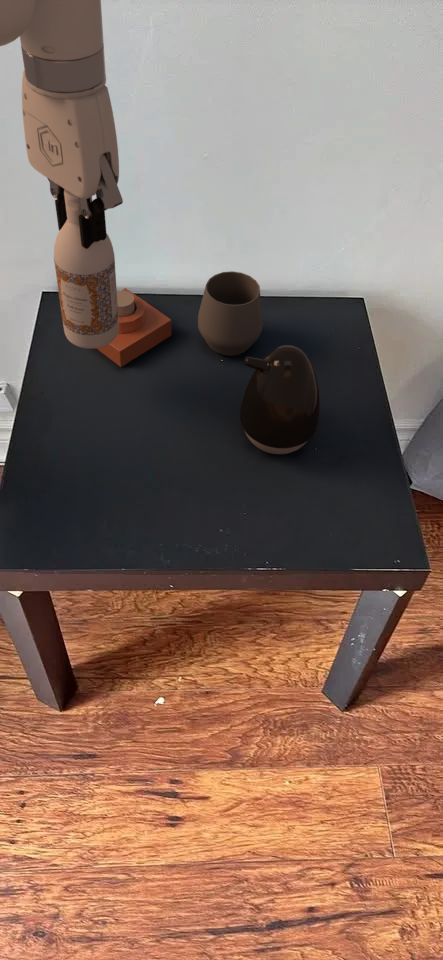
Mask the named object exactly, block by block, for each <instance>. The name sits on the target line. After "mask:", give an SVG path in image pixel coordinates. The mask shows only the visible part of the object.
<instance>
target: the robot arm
mask: <svg viewBox="0 0 443 960" xmlns="http://www.w3.org/2000/svg"><path fill="white" fill-rule="evenodd" d="M103 31H104V29H103V14H102V0H0V47H3V46H7V45H9V44H11V43H13V42H15V41H16V40H17V39H19V40H20V48H21V55H22V62H23V69H24V70H23V72H22V79H21V108H22V121H23V131H24V141H25V149H26V154H27V159H28V162H29V164H30V166H31V167H32V168H33V169H34V170H35V171H36V172H38V173H39V174H41V175H42V176H43V177H45V178H46V179H47V181H48V182H49V192H50V194H51V197H53V198H54V205H55V212H56V213H55V214H56V219H57V220H56V222H57V227H58V232H59V231H60V230H61V228H62V227H63V225H64V223H65V221H66V220H67V213H66V205H65V196H64V189H65V190H67V191H69V192H70V193H72V194H74V195H75V196H77V197H79V200H80V206H81V211H82V214H81V215H79V216H78V217H79V227H80V236H81V244H82V246H83V247H84V248H85V249H88V248H89V247H90V246H91V245H92V244H93V243H94V242H98V241H100V240H105V239H106V237H107V234H108V233H107V225H106V224H107V222H106V211H107V210H109V209H114V208H116V207H118V206H120V205H122V204H123V203H124V200H123V197H122V194H121V191H120V189H119V186H118V184H119V180H120V158H119V146H118V137H117V131H116V123H115V117H114V111H113V107H112V101H111V95H110V93H109V88H108V86H107V85H106V83H107V74H106V72H107V71H106V59H105V58H106V57H105V56H106V55H105V43H104V32H103ZM91 196H92V197H93V196H95V198H94V199H92V202H90V197H91ZM106 233H107V234H106Z"/></svg>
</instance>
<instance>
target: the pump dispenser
mask: <svg viewBox="0 0 443 960" xmlns="http://www.w3.org/2000/svg"><path fill="white" fill-rule="evenodd" d="M243 364H244V365H245V366H246V367H249V368H251V369H254V371H253V374H252V375H251V377H250V379H249V381H248V383H247V385H246V388H245V391H244V393H243V397H242V400H241V404H240V410H239V421H240V425H241V426H242V429H243V430H244V433H245V436H246V437H247V439H248V440H249V441H250V442H251V444H252V445H254V446H255V447H256V448H258V450H261V451H263V452H265V453H268V454H272V455H286V454H291V453H293V452H295V451H298V450H300V449H301V448H302V447H304V445H305V444H307V442H308V441H309V440H310V439H312V437H313V436H314V435H315V434H316V432H317V430H318V426H319V421H320V409H321V398H320V389H319V383H318V379H317V378H318V377H317V375H316V372H315V369H314V366H313V364H312V361H311V360H310V358H309V357H308V356H307V354H306V352H305V351H304V350H303V349H300V348H299V347H298V346H295V345H289V344H288V345H287V344H286V345H280V346H276V348H274V349H272V350H271V351H270V352H269V353H267V355H265V356H264V358H263V359H262V358H258V357H253V356H246V357H245V358H244V361H243Z"/></svg>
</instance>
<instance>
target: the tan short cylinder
mask: <svg viewBox="0 0 443 960" xmlns="http://www.w3.org/2000/svg"><path fill="white" fill-rule="evenodd" d="M130 292H131V291H130ZM130 292H128V291H121V290H117V304H118V317H127V316H130V315H132V314H133V313H134V311H135V303H134V296H133V295H132V294H131V293H130Z"/></svg>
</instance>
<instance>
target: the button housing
mask: <svg viewBox="0 0 443 960" xmlns="http://www.w3.org/2000/svg"><path fill="white" fill-rule="evenodd" d="M120 291H128V292H130V293H131V294H132V295H133V296H134V303H135V311H134V313H133V314H132V315H130V316H127V317H118V322H119V331H118V335H117V336H116V338H115V339H114V340H113V341H112V342H111V343H110V344H108V345H106V346H104V347H101V348H96V350H98V351H99V352H100V353H101V354H103V355H104V356H106V358H108V359H109V360H111V361H112V362H114V363H115V364H116V365H117V366H118V367H120V368H122V367H124V366H126V365H127V364H128V363H130V362H132V361H133V360H134V359H137V358H138V357H140V356H141V355H143V354H144V353H146V352H147V351H149V350H151V349H152V348H154V347H155V346H157V345H159V344H160V343H162V342H163V341H165V340H166V339H168V338H170V337H171V336H172V319H171V318H170V317H168V316H167V315H165V314H164V313H162V312H161V311H159V310H158V309H156V308H155V307H154V306H152V305H151V304H149V303H148V302H147V301H145V300H143V299H142V298H141V297H140V296H137V294H135V293H133V292H132V291H131V290H130V289H128V288H126V287H125V288H123V289H120Z"/></svg>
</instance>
